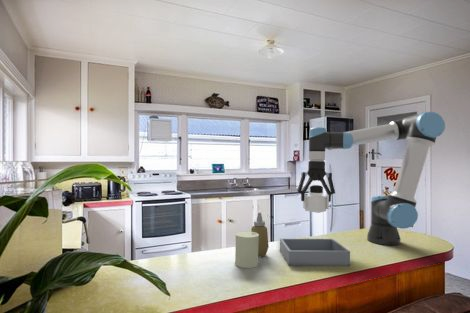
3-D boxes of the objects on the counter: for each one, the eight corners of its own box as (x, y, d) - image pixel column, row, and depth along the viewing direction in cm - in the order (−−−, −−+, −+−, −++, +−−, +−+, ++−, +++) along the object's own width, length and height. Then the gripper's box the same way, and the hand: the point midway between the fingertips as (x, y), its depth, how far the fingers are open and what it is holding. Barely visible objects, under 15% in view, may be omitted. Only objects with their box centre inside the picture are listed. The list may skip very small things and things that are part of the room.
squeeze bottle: (269, 258, 122) (270, 214, 122) (249, 258, 122) (250, 214, 122) (267, 252, 130) (268, 211, 130) (249, 252, 130) (249, 210, 130)
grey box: (332, 251, 133) (333, 238, 133) (349, 265, 115) (350, 251, 115) (279, 250, 132) (279, 238, 132) (288, 265, 114) (288, 251, 114)
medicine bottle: (326, 211, 139) (327, 185, 139) (318, 213, 134) (319, 186, 134) (312, 209, 144) (313, 184, 144) (304, 210, 139) (305, 185, 139)
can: (262, 266, 113) (262, 235, 113) (239, 269, 110) (240, 236, 110) (252, 258, 121) (253, 229, 121) (231, 261, 118) (232, 230, 118)
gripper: (337, 161, 143) (336, 207, 143) (291, 160, 142) (290, 206, 142) (343, 161, 135) (342, 210, 135) (294, 160, 135) (293, 209, 135)
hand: (315, 208), depth 139 cm, fingers closed on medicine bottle, 10 cm apart
